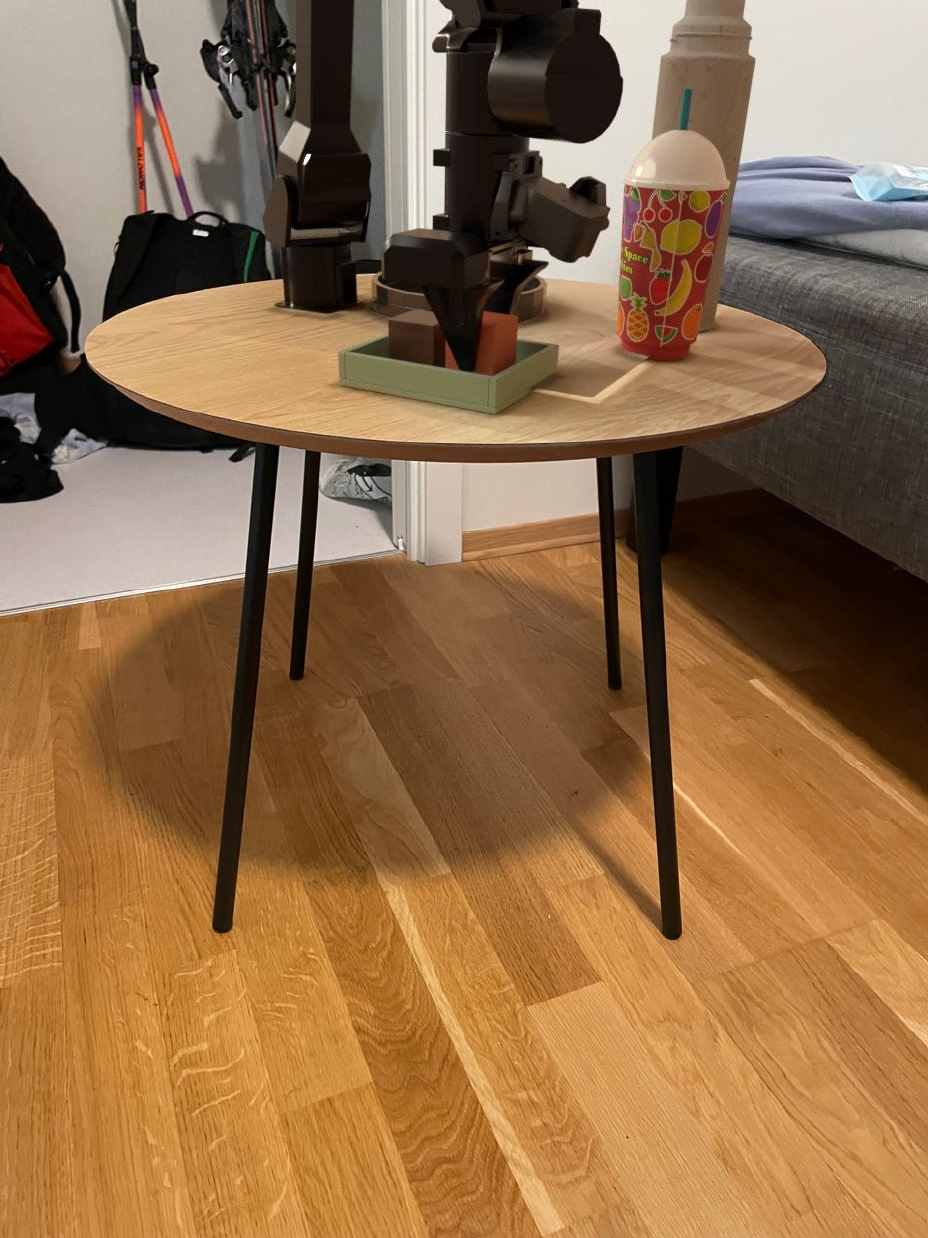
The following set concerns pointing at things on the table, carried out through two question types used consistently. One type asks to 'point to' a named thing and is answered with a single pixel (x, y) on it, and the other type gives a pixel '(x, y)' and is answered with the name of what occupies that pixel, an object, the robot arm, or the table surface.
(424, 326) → the walnut block
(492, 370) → the terracotta block
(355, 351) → the tray
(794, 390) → the table surface
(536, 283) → the pan
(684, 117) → the smoothie
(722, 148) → the thermos bottle
